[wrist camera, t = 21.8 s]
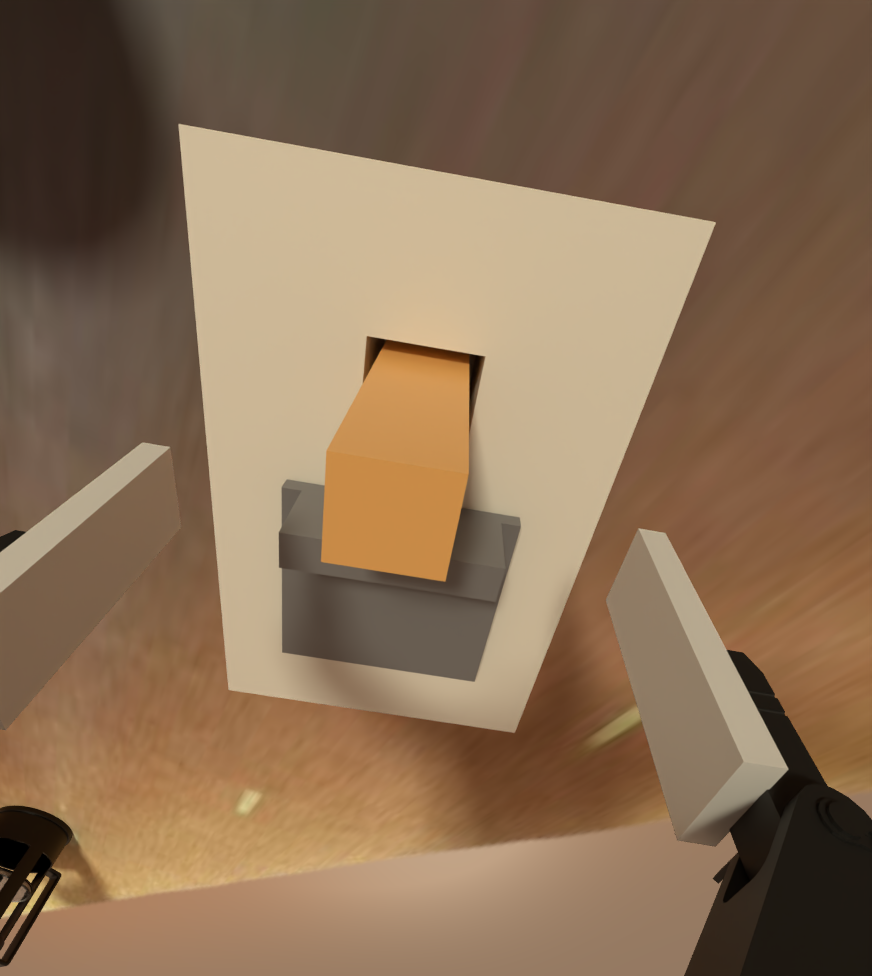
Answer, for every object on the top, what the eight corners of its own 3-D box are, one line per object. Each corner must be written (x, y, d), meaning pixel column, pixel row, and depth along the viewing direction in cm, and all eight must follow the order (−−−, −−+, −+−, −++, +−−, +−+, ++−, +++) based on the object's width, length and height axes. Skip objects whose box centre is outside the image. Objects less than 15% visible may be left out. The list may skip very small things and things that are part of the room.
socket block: (258, 140, 25) (178, 124, 18) (650, 212, 26) (715, 222, 19) (268, 606, 42) (228, 689, 35) (507, 643, 42) (514, 732, 35)
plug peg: (397, 319, 28) (326, 450, 14) (469, 332, 28) (469, 474, 14) (389, 388, 30) (321, 561, 16) (456, 399, 30) (445, 581, 16)
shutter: (286, 479, 26) (255, 528, 22) (519, 517, 26) (527, 572, 22) (286, 642, 32) (261, 702, 28) (474, 671, 32) (474, 734, 28)
